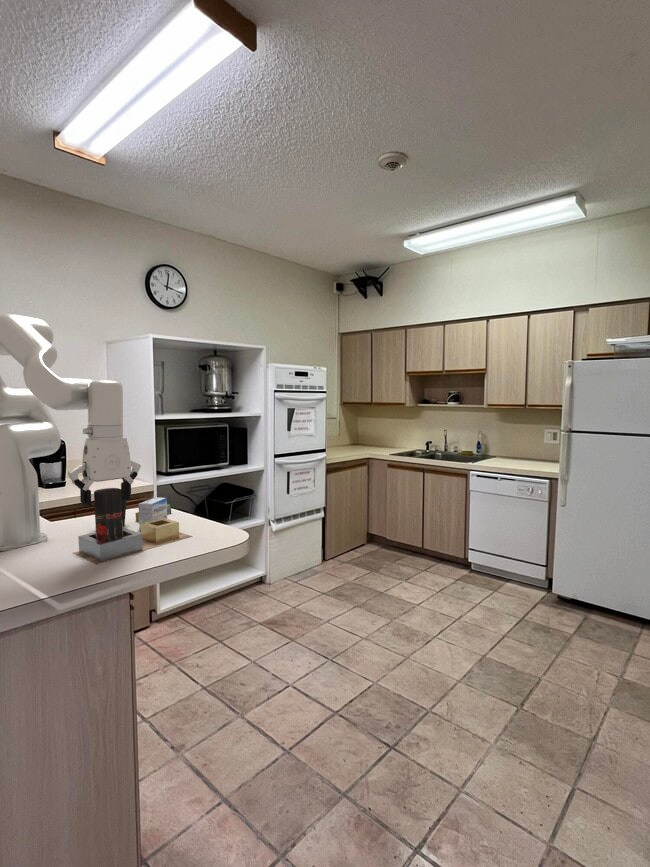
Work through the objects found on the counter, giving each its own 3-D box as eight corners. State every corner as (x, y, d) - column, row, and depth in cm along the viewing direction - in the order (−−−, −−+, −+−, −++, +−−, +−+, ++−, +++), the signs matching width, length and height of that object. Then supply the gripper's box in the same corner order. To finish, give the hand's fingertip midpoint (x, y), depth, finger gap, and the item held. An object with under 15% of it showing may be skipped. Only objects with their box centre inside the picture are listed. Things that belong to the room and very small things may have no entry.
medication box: (166, 515, 151) (165, 503, 151) (172, 516, 150) (171, 504, 150) (135, 525, 141) (134, 512, 140) (141, 526, 140) (141, 513, 139)
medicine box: (153, 534, 131) (152, 503, 131) (138, 533, 132) (137, 503, 131) (168, 526, 139) (167, 497, 138) (154, 525, 140) (153, 496, 139)
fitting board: (72, 557, 113) (72, 553, 113) (166, 531, 133) (166, 528, 133) (97, 568, 106) (96, 564, 105) (192, 539, 126) (192, 536, 126)
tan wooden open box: (141, 538, 124) (140, 523, 124) (164, 532, 130) (163, 517, 129) (156, 543, 120) (155, 528, 120) (179, 536, 125) (178, 522, 125)
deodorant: (127, 550, 114) (124, 490, 113) (102, 557, 110) (99, 494, 108) (118, 544, 118) (115, 486, 117) (93, 550, 114) (90, 490, 113)
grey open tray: (79, 552, 113) (78, 536, 113) (120, 541, 122) (119, 526, 121) (100, 561, 107) (99, 544, 107) (142, 549, 115) (142, 533, 115)
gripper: (75, 435, 103) (77, 512, 104) (147, 431, 116) (147, 499, 118) (60, 432, 107) (62, 505, 109) (131, 429, 121) (131, 494, 122)
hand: (106, 502), depth 113 cm, fingers open, 9 cm apart
